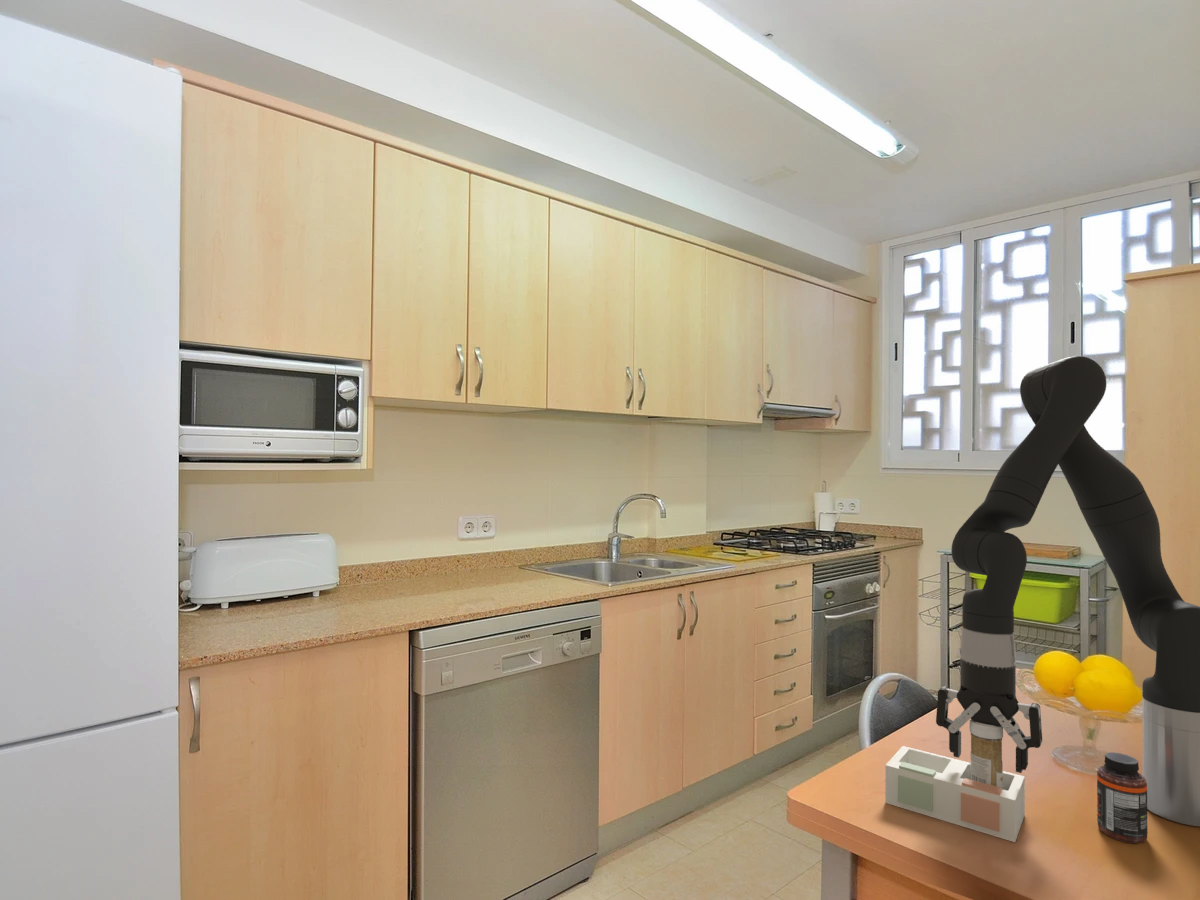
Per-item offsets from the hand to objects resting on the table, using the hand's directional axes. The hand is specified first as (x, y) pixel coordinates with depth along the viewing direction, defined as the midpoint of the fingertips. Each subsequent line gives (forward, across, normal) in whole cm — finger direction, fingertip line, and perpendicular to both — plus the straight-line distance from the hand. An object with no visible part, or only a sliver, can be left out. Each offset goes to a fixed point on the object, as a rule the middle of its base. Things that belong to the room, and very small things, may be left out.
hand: (987, 763), depth 107 cm
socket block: (+8, +4, +1) cm, 9 cm away
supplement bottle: (+8, -16, -7) cm, 20 cm away
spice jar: (+7, 0, 0) cm, 7 cm away
